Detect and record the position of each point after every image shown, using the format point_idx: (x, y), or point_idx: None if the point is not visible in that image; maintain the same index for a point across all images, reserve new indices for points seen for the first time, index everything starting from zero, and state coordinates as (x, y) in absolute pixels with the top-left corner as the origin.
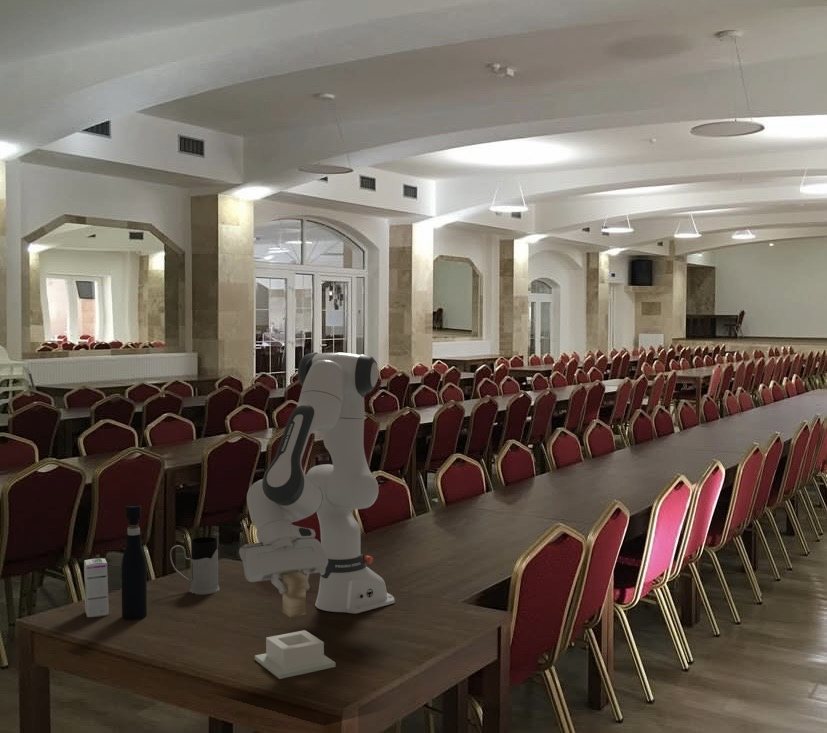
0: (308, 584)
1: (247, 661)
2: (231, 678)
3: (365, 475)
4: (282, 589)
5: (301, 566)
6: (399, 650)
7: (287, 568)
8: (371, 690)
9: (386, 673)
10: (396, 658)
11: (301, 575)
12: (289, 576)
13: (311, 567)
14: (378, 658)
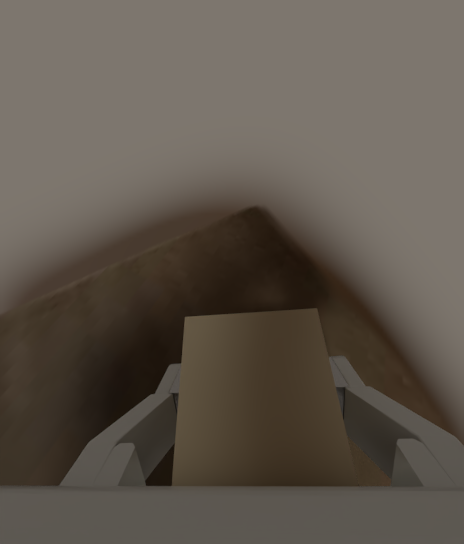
0: (169, 369)
1: (359, 477)
2: (404, 377)
3: None
4: (344, 357)
5: (109, 507)
6: (59, 350)
7: (317, 510)
8: (200, 232)
9: (148, 271)
10: (93, 317)
11: (208, 340)
12: (310, 356)
13: (11, 486)
14: (114, 332)
